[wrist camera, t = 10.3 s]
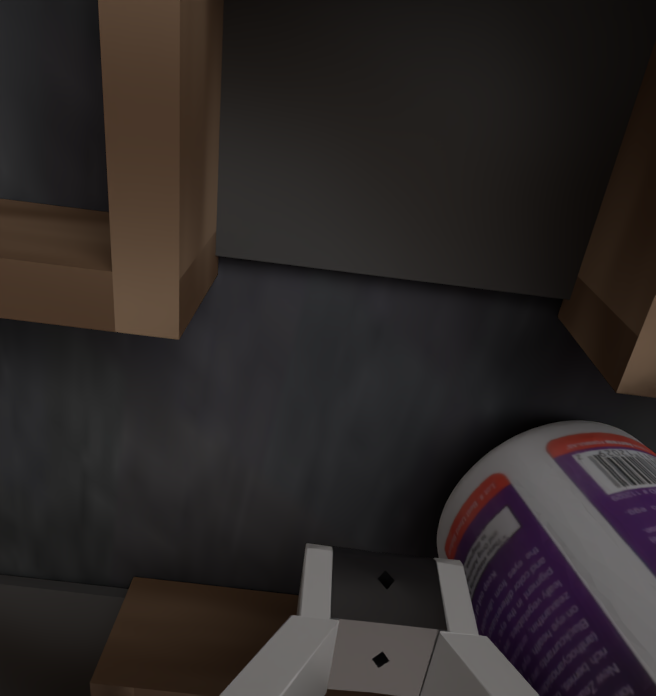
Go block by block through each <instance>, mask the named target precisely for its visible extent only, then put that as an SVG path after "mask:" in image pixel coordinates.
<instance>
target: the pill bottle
mask: <svg viewBox="0 0 656 696" xmlns="http://www.w3.org/2000/svg"><path fill="white" fill-rule="evenodd" d="M437 550H438V556H439V558H443V559H453V560H460V561H461V563H462V564H463V567H464V571H465V576H466V580H467V585H468V589H469V593H470V598H471V602H472V607H473V611H474V616H475V620H476V625H477V629H478V634H479V635H481V636H487V637H488V638H489V639H490V640H491V642H492V643H493V644H494V645H495V646H496V647H497V648H498V649H499V651H500V652H501V653H502V654H503V655H504V656H505V657H506V658H507V660H508V661H509V662H510V663H511V664H512V665H513V666H514V667H515V669H516V670H517V671H518V672H519V673H520V674H521V675H522V676H523V678H524V679H525V680H526V681H527V682H528V683H529V684H530V685H531V687H532V688H533V689H534V690H535V691H536V692H537V693H538V694H539V696H656V454H655V453H654V452H653V451H651V450H650V449H649V448H647V447H646V446H645V445H644V444H642V443H641V442H640V441H639V440H637V439H636V438H634V437H633V436H632V435H630V434H628V433H626V432H625V431H623V430H621V429H618V428H616V427H614V426H611V425H607V424H604V423H600V422H595V421H584V420H569V421H560V422H555V423H550V424H546V425H543V426H539V427H536V428H533V429H530V430H528V431H525V432H523V433H521V434H518V435H516V436H514V437H512V438H510V439H509V440H507V441H505V442H503V443H502V444H500V445H499V446H497V447H495V448H494V449H493V450H491V451H490V452H488V453H487V454H486V455H485V456H483V457H482V458H481V459H480V460H479V461H478V462H477V463H476V464H475V465H474V466H472V467H471V469H470V470H469V471H468V472H467V473H466V474H465V475H464V476H463V477H462V478H461V480H460V481H459V482H458V484H457V485H456V486H455V488H454V490H453V491H452V493H451V494H450V496H449V498H448V500H447V502H446V504H445V506H444V509H443V511H442V514H441V517H440V521H439V525H438V530H437Z"/></svg>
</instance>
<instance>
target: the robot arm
mask: <svg viewBox="0 0 656 696" xmlns="http://www.w3.org/2000/svg"><path fill="white" fill-rule="evenodd" d="M327 689H334V690H347V691H360V692H373V693H380V694H388V695H395V696H539V694H538V693H537V692H536V691H535V690H534V689H533V688H532V687H531V685H530V684H529V683H528V682H527V681H526V680H525V679H524V678H523V676H522V675H521V674H520V673H519V672H518V671H517V670H516V669H515V667H514V666H513V665H512V664H511V663H510V662H509V661H508V660H507V658H506V657H505V656H504V655H503V654H502V653H501V652H500V651H499V649H498V648H497V647H496V646H495V645H494V644H493V643H492V642H491V640H490V639H489V638H488V637H487V636H481V635H479V634H478V629H477V625H476V620H475V616H474V611H473V607H472V602H471V598H470V593H469V589H468V585H467V580H466V576H465V571H464V567H463V564H462V563H461V561H460V560H453V559H443V558H432V557H423V556H413V555H403V554H393V553H384V552H382V553H380V552H372V551H365V550H358V549H351V548H343V547H336V546H333V547H332V546H324V545H317V544H310V543H306V546H305V554H304V561H303V568H302V576H301V583H300V591H299V599H298V606H297V615H291V616H290V617H289V618H288V619H287V620H286V621H285V623H284V624H283V625H282V626H281V627H280V628H279V629H278V630H277V631H276V633H275V634H274V635H273V636H272V637H271V638H270V639H269V640H268V642H267V643H266V644H265V645H264V646H263V647H262V648H261V649H260V651H259V652H258V653H257V654H256V655H255V656H254V657H253V658H252V660H251V661H250V662H249V663H248V664H247V665H246V666H245V667H244V669H243V670H242V671H241V672H240V673H239V674H238V675H237V676H236V678H235V679H234V680H233V681H232V682H231V683H230V684H229V685H228V686H227V688H226V689H225V690H224V691H223V692H222V693H221V694H220V695H219V696H324V695H325V694H326V692H327Z"/></svg>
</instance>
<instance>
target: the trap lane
mask: <svg viewBox="0 0 656 696" xmlns="http://www.w3.org/2000/svg"><path fill="white" fill-rule="evenodd" d="M98 8H99V27H100V46H101V65H102V84H103V104H104V123H105V142H106V161H107V180H108V200H109V212H102V211H95V210H87V209H79V208H71V207H63V206H55V205H47V204H39V203H31V202H23V201H15V200H7V199H0V318H5V319H13V320H21V321H30V322H38V323H46V324H54V325H62V326H71V327H79V328H87V329H95V330H104V331H112V332H120V333H128V334H136V335H145V336H153V337H161V338H169V339H177V340H179V339H180V337H181V335H182V334H183V332H184V330H185V329H186V327H187V325H188V324H189V322H190V320H191V319H192V317H193V315H194V314H195V312H196V310H197V309H198V307H199V305H200V304H201V302H202V300H203V298H204V297H205V295H206V293H207V292H208V290H209V288H210V287H211V285H212V283H213V282H214V280H215V278H216V277H217V275H218V256H223V257H231V258H239V259H247V260H255V261H263V262H271V263H279V264H287V265H295V266H303V267H311V268H319V269H327V270H335V271H343V272H351V273H359V274H367V275H375V276H383V277H391V278H399V279H407V280H415V281H423V282H431V283H439V284H447V285H455V286H463V287H471V288H479V289H487V290H495V291H503V292H511V293H519V294H527V295H535V296H543V297H551V298H559V299H563V301H562V304H561V307H560V311H559V314H558V318H559V319H560V321H561V322H562V323H563V325H564V326H565V327H566V328H567V330H568V331H569V332H570V334H571V335H572V336H573V338H574V339H575V340H576V341H577V343H578V344H579V345H580V347H581V348H582V349H583V351H584V352H585V353H586V354H587V356H588V357H589V358H590V360H591V361H592V362H593V364H594V365H595V366H596V368H597V369H598V370H599V371H600V373H601V374H602V375H603V377H604V378H605V379H606V381H607V382H608V383H609V384H610V386H611V387H612V388H613V390H614V391H615V392H616V393H621V394H629V395H637V396H645V397H653V398H656V0H98ZM298 599H299V595H291V594H282V593H273V592H264V591H255V590H246V589H238V588H229V587H220V586H211V585H202V584H193V583H184V582H175V581H167V580H158V579H149V578H140V577H133V579H132V582H131V584H130V587H129V589H125V588H116V587H107V586H98V585H89V584H80V583H71V582H62V581H53V580H44V579H36V578H27V577H18V576H9V575H0V696H219V695H220V694H221V693H222V692H223V691H224V690H225V689H226V688H227V686H228V685H229V684H230V683H231V682H232V681H233V680H234V679H235V678H236V676H237V675H238V674H239V673H240V672H241V671H242V670H243V669H244V667H245V666H246V665H247V664H248V663H249V662H250V661H251V660H252V658H253V657H254V656H255V655H256V654H257V653H258V652H259V651H260V649H261V648H262V647H263V646H264V645H265V644H266V643H267V642H268V640H269V639H270V638H271V637H272V636H273V635H274V634H275V633H276V631H277V630H278V629H279V628H280V627H281V626H282V625H283V624H284V623H285V621H286V620H287V619H288V618H289V617H290V616H291V615H297V606H298ZM324 696H395V695H388V694H380V693H373V692H360V691H347V690H334V689H327V692H326V694H325V695H324Z"/></svg>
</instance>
